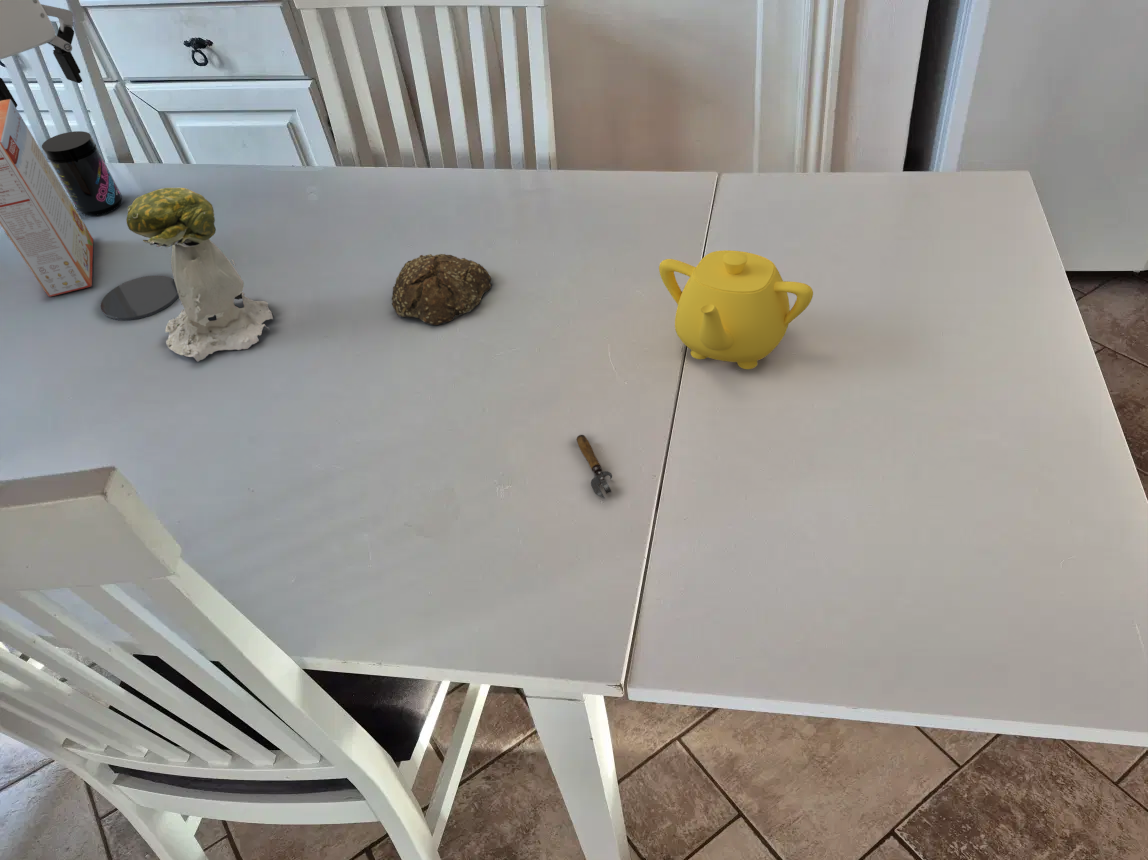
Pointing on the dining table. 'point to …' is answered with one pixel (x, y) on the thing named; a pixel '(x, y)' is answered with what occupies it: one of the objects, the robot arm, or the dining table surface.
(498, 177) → the dining table surface
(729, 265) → the teapot
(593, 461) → the can opener
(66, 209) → the cracker box
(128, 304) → the coaster
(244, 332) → the frog
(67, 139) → the supplement container
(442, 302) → the bread roll
